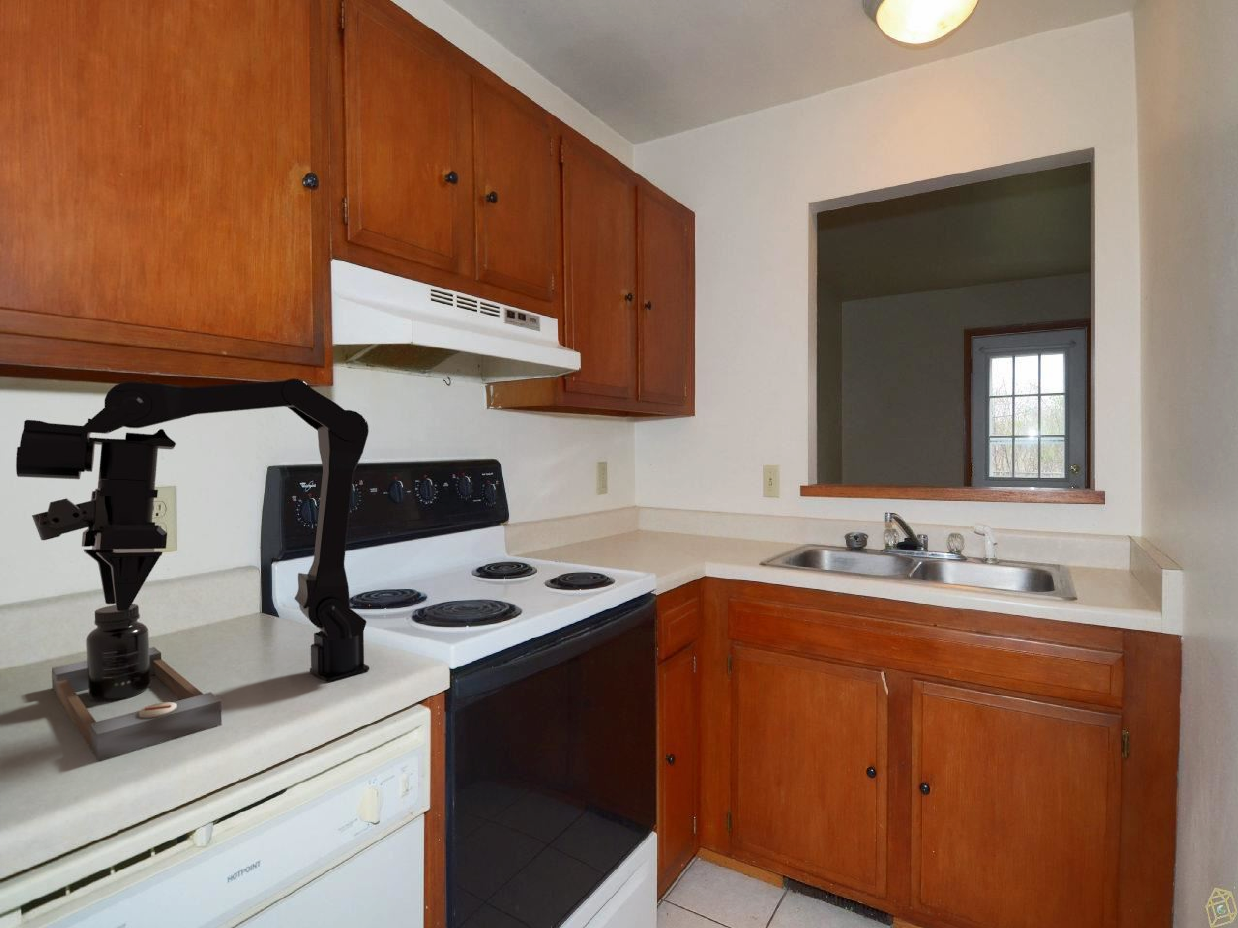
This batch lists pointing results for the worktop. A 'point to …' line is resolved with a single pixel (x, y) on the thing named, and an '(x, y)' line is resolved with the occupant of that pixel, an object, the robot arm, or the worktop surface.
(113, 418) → the robot arm
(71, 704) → the wooden frame
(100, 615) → the supplement bottle
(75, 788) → the worktop surface
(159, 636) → the worktop surface
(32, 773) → the worktop surface
